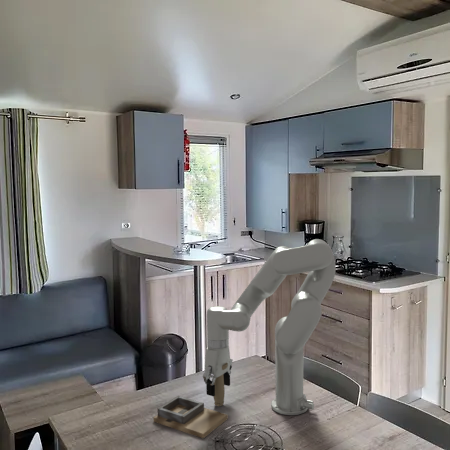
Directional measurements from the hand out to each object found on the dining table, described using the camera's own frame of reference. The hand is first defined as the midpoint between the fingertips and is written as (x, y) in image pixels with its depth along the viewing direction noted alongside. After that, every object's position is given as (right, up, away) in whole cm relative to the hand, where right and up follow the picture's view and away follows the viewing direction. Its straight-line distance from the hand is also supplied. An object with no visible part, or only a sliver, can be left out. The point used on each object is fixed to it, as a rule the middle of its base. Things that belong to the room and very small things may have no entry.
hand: (218, 390), depth 165 cm
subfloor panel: (-9, -6, -10) cm, 15 cm away
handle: (0, -6, 0) cm, 6 cm away
